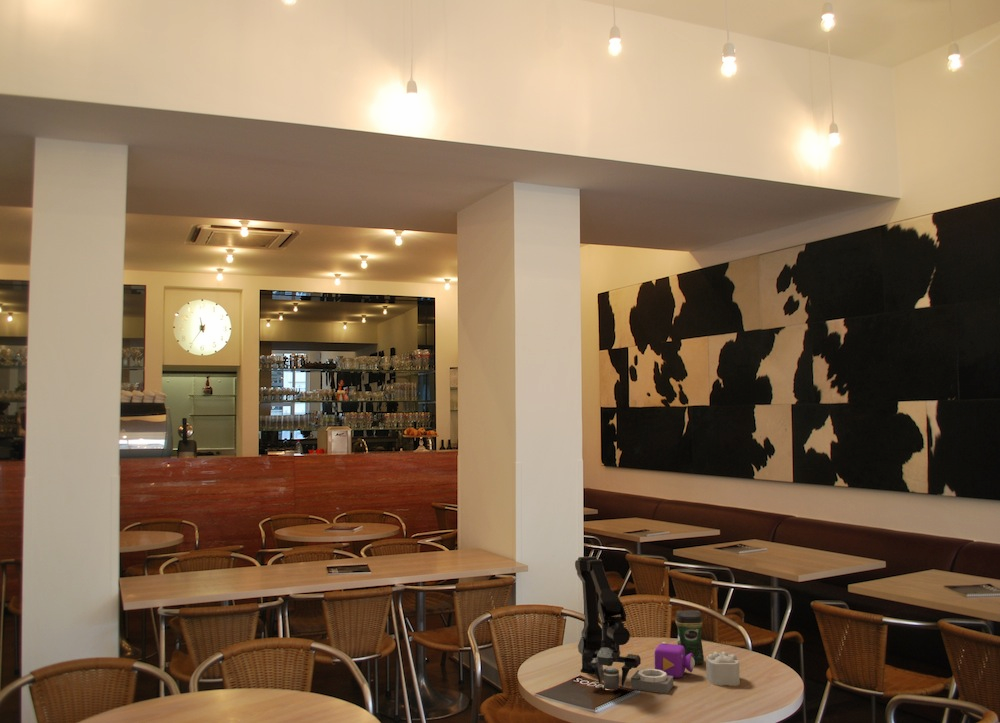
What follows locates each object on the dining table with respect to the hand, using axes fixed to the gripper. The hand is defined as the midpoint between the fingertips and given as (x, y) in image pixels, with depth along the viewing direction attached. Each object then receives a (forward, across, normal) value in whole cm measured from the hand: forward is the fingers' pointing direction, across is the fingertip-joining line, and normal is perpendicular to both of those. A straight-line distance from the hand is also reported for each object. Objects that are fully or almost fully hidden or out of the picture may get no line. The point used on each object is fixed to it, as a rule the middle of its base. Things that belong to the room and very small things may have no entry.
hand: (611, 684), depth 275 cm
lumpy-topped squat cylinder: (+2, +32, +24) cm, 40 cm away
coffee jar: (+2, +18, +39) cm, 43 cm away
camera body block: (+1, +12, +7) cm, 14 cm away
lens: (+1, 0, 0) cm, 1 cm away
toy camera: (+2, +16, +23) cm, 28 cm away
